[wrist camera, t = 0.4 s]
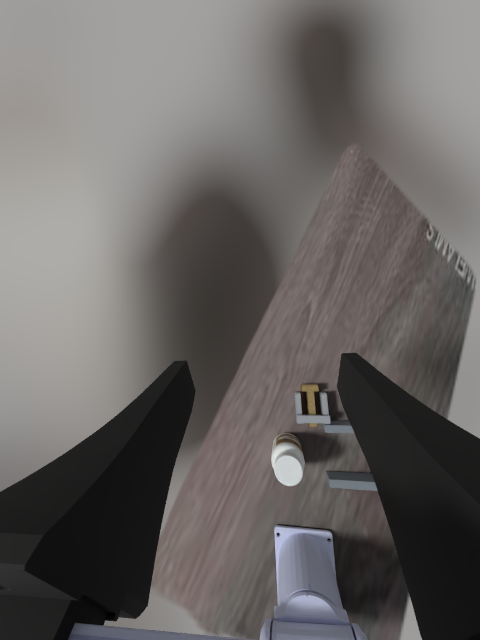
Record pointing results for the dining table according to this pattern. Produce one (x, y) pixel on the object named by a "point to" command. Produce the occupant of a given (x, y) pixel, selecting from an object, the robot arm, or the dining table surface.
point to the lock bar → (310, 399)
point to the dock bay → (333, 477)
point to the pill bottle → (288, 459)
